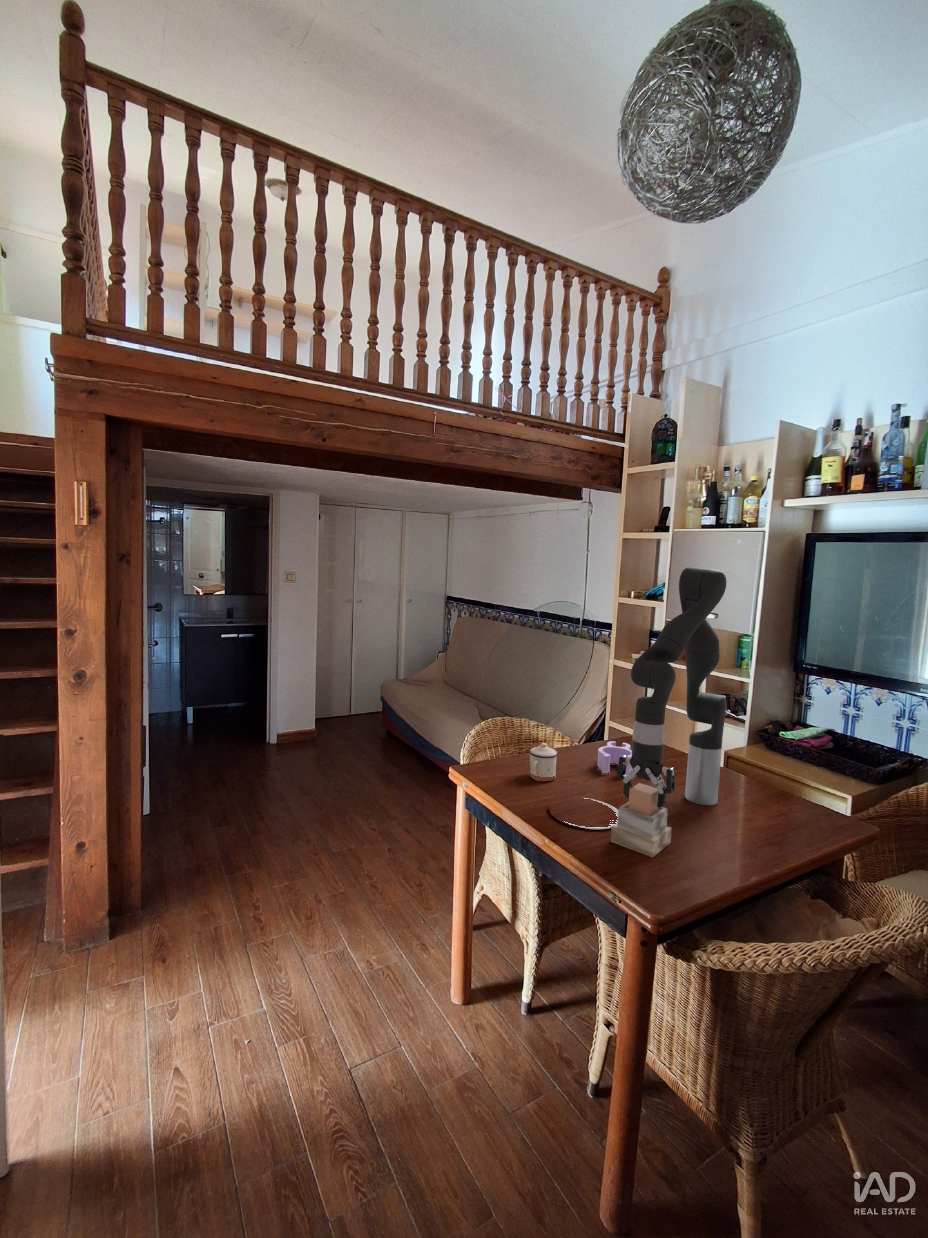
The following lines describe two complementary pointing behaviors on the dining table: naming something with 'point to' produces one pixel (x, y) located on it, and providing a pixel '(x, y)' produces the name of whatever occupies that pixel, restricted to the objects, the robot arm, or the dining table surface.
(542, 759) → the teacup with lid
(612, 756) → the clip
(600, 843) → the dining table surface
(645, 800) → the top block
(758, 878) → the dining table surface
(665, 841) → the stepped translucent block
